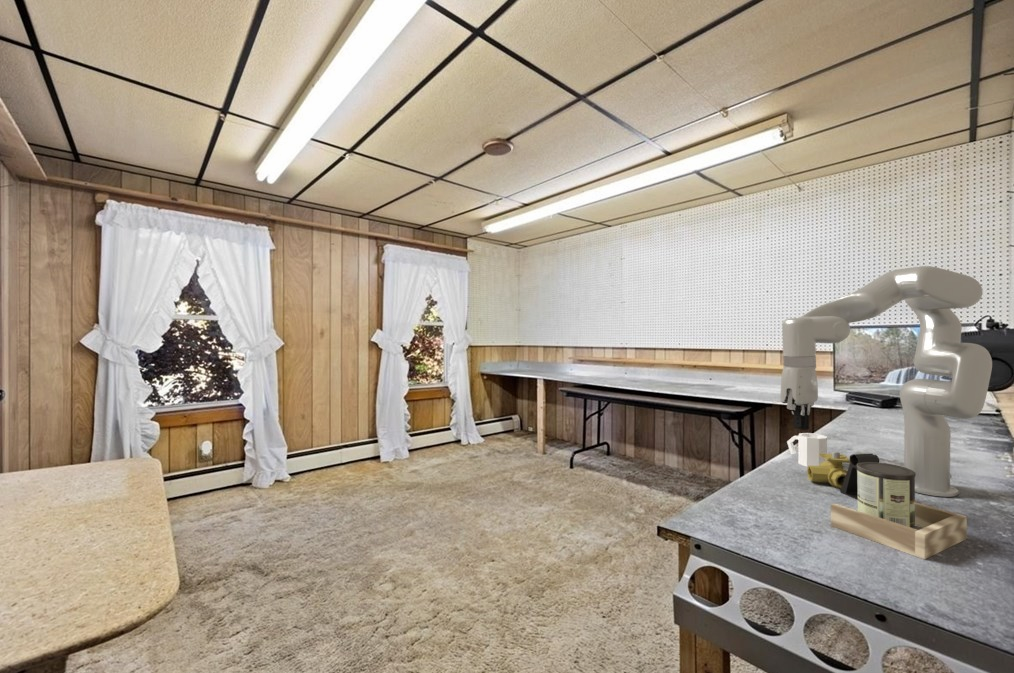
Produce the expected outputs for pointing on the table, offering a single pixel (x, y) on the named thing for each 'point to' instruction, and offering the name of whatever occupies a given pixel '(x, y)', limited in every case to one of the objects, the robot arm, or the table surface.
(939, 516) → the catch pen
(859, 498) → the coffee can
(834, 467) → the ball valve
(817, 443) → the mug
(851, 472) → the phone stand
